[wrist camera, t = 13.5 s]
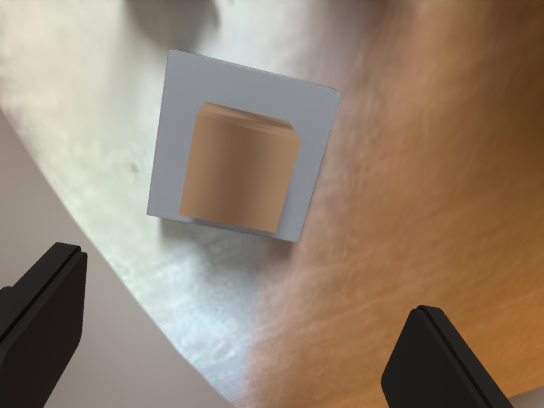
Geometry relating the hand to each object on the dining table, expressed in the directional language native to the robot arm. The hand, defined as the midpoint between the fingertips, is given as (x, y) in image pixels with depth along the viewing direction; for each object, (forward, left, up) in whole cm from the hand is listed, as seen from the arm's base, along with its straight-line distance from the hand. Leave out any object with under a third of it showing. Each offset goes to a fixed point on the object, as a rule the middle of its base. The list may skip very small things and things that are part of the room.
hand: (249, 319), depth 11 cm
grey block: (0, 0, -24) cm, 24 cm away
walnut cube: (0, 0, -19) cm, 19 cm away
